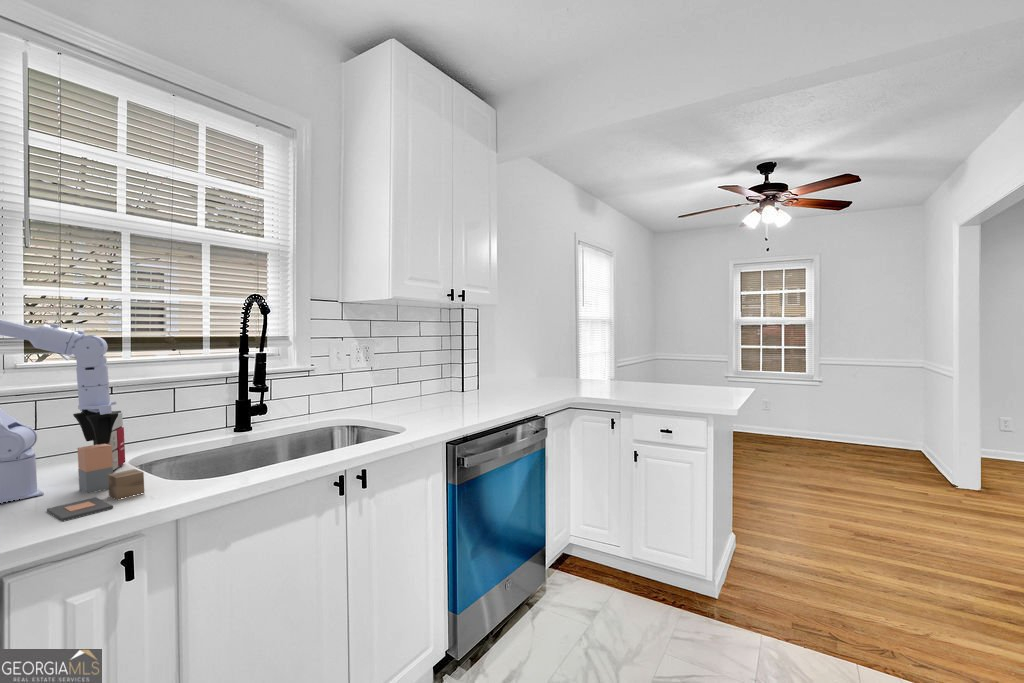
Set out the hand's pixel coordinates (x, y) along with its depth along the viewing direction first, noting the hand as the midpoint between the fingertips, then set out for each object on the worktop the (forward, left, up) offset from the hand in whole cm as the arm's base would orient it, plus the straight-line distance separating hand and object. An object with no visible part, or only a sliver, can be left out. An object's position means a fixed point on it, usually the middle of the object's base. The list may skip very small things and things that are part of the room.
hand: (97, 442), depth 119 cm
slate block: (+3, -1, -11) cm, 11 cm away
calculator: (-15, +7, -11) cm, 20 cm away
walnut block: (+15, +1, -11) cm, 18 cm away
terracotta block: (+3, -1, -6) cm, 6 cm away
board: (+18, -8, -10) cm, 22 cm away
